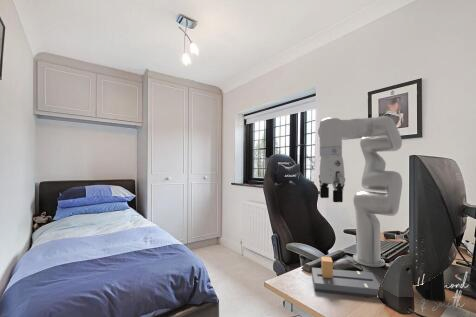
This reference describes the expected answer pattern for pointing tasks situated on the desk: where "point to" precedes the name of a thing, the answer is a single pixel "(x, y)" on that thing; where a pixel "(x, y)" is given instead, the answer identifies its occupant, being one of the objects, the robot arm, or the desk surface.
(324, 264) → the fader tab
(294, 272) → the desk surface
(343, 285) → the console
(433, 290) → the portable radio
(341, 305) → the desk surface
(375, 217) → the robot arm
